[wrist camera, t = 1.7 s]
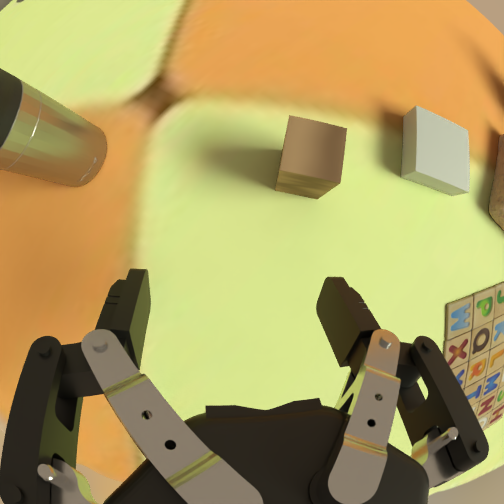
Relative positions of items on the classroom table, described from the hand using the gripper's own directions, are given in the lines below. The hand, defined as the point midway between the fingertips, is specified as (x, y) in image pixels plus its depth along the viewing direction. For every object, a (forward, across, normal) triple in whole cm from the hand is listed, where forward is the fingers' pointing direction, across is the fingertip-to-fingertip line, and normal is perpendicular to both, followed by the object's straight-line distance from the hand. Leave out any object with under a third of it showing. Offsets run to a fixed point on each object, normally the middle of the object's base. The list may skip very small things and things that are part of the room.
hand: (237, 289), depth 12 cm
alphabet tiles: (0, -48, +20) cm, 52 cm away
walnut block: (+21, -9, 0) cm, 23 cm away
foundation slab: (+19, -27, -7) cm, 34 cm away
